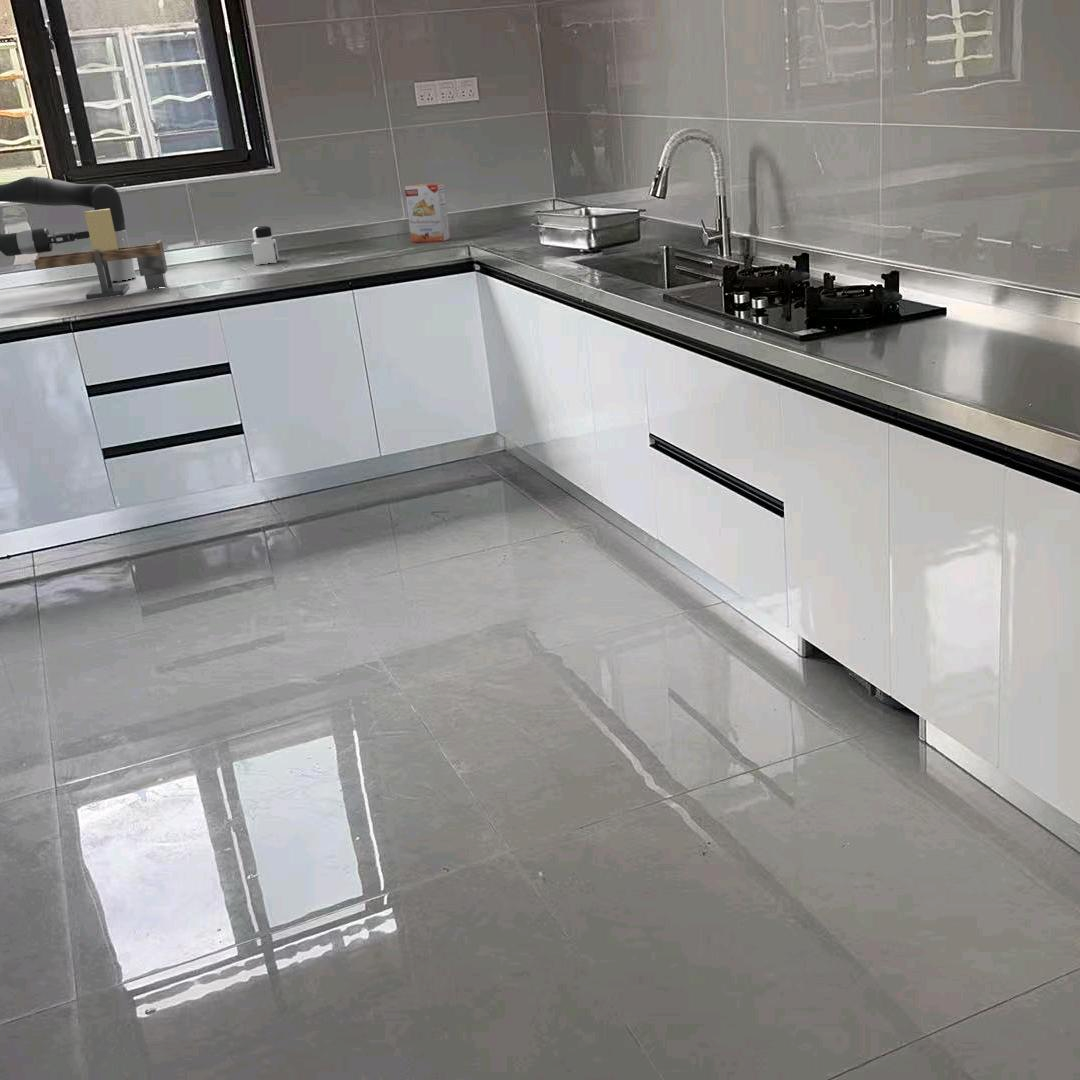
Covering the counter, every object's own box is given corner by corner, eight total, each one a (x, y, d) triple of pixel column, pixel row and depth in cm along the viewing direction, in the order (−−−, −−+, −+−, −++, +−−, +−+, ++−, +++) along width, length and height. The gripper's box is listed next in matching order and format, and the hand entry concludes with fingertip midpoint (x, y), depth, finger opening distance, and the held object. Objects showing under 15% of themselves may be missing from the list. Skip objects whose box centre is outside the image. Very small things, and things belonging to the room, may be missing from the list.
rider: (118, 251, 406) (109, 208, 401) (119, 252, 401) (110, 209, 396) (94, 254, 404) (84, 211, 399) (94, 256, 399) (84, 212, 394)
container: (279, 260, 447) (273, 224, 442) (275, 263, 440) (269, 226, 435) (258, 262, 447) (252, 226, 442) (254, 265, 440) (248, 229, 435)
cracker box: (410, 243, 458) (403, 186, 451) (418, 240, 464) (411, 184, 456) (443, 241, 453) (436, 184, 445) (451, 239, 458) (444, 182, 450)
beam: (167, 269, 412) (161, 239, 409) (165, 273, 404) (159, 242, 400) (45, 283, 406) (38, 253, 402) (40, 287, 398) (33, 257, 394)
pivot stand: (168, 283, 417) (159, 240, 412) (164, 290, 402) (155, 245, 397) (93, 292, 413) (83, 249, 408) (86, 299, 399) (76, 255, 393)
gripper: (41, 251, 402) (94, 244, 404) (33, 255, 390) (88, 247, 392) (35, 228, 400) (89, 221, 402) (27, 231, 387) (82, 224, 390)
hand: (88, 234), depth 397 cm, fingers closed
